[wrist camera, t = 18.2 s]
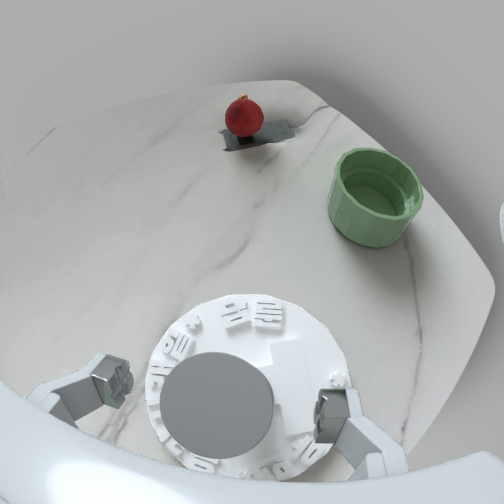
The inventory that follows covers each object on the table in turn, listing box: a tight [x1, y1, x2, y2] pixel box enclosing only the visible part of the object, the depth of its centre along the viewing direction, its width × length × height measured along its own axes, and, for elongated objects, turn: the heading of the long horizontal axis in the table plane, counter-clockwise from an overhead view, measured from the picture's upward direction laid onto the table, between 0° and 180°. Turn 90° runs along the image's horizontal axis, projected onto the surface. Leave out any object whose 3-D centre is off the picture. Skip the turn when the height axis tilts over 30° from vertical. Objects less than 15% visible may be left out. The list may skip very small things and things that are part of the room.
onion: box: [225, 94, 264, 137], centre depth 39 cm, size 6×6×8 cm
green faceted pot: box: [327, 148, 424, 248], centre depth 31 cm, size 11×11×6 cm
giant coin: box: [145, 294, 351, 482], centre depth 24 cm, size 20×20×3 cm
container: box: [159, 352, 274, 459], centre depth 16 cm, size 5×5×15 cm
